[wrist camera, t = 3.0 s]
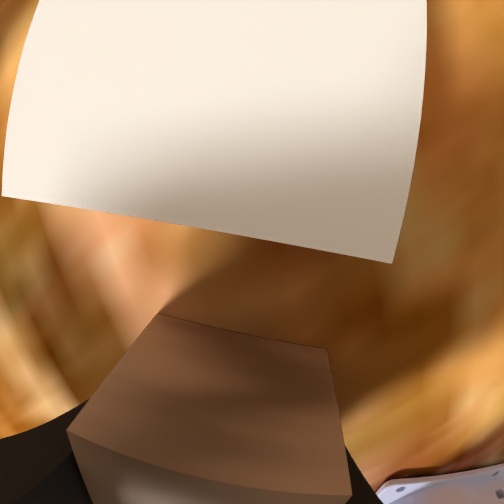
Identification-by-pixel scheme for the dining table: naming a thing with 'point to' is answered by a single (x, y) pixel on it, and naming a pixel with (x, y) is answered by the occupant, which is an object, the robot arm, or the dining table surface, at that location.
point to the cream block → (225, 115)
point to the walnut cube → (213, 422)
